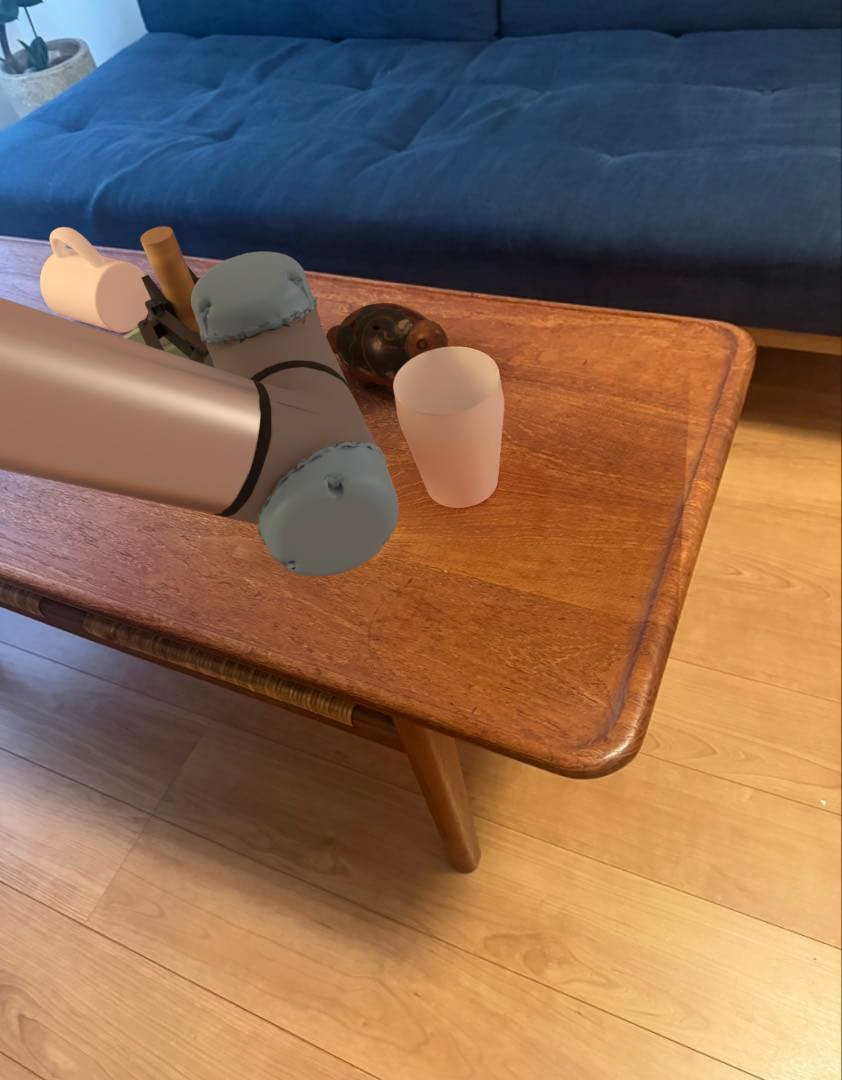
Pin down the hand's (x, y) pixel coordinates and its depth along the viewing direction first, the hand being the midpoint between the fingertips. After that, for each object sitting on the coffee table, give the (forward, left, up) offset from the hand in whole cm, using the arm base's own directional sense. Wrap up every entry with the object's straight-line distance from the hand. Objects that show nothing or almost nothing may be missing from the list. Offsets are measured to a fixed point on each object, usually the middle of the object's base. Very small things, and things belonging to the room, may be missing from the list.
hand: (167, 280), depth 82 cm
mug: (-13, +17, -13) cm, 25 cm away
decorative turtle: (+20, -7, -13) cm, 25 cm away
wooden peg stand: (+2, -5, -10) cm, 11 cm away
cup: (+24, -25, -13) cm, 37 cm away
